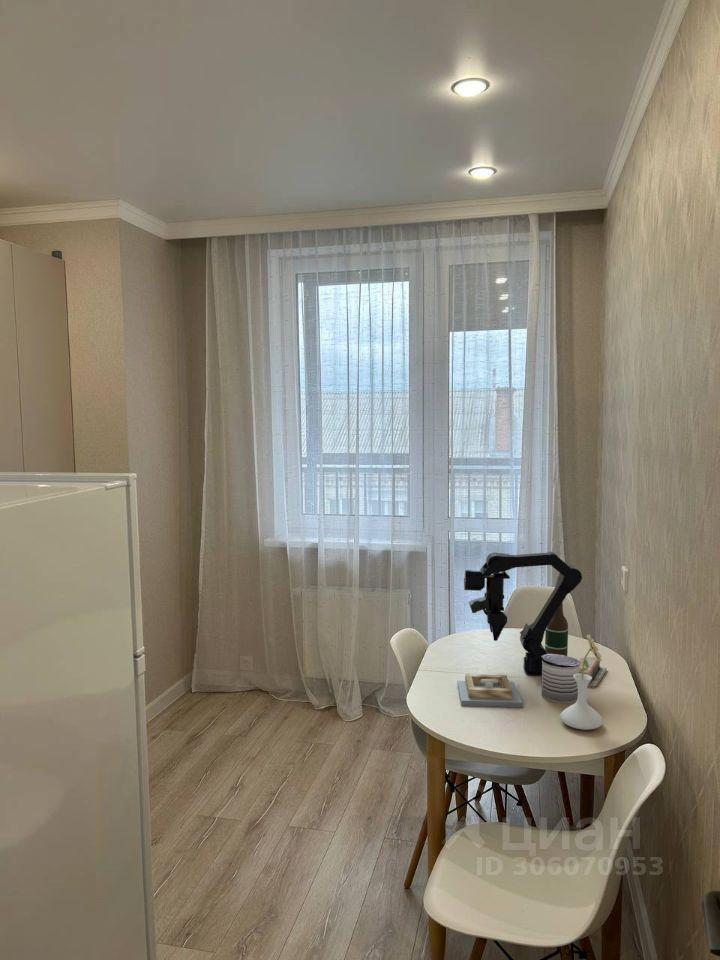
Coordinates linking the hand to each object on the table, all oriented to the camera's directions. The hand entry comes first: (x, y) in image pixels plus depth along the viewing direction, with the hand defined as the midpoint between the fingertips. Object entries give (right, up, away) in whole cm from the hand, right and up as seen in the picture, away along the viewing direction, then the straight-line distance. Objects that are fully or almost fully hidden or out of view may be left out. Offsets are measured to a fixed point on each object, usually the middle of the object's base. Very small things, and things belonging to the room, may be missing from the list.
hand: (493, 636), depth 235 cm
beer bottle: (+25, -11, +14) cm, 31 cm away
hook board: (-6, -14, -22) cm, 26 cm away
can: (+17, -14, -20) cm, 30 cm away
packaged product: (+30, -13, -3) cm, 33 cm away
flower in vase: (+17, -16, -40) cm, 46 cm away
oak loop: (-6, -12, -19) cm, 24 cm away
